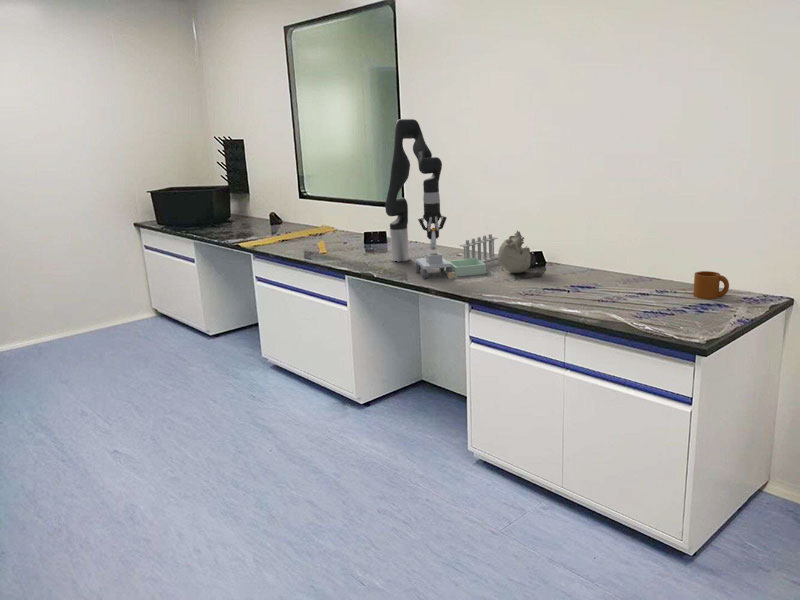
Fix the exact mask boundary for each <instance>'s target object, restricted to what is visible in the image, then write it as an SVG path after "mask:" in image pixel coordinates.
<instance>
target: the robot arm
mask: <svg viewBox="0 0 800 600" xmlns="http://www.w3.org/2000/svg"><path fill="white" fill-rule="evenodd" d="M406 139H407V140H410V139H413V140H414V142H413V145H412V152H413V154H414V156H415V158H416V159H417V162H418V163H417V164H418V170H419V172H420V173H421V174H423V175H427V174H429V175H430V174H432V175H431V176H430V177H429V178H425V179H424V180H423V183H422V186H423V197H422V198H423V199H422V201H423V215H422V217H419V218H418V219H417V221H418V222H419V224H420V227H421V228H422V230H423V231H426V237H427V238H428V239H429V240H430V239H431V231H430V228H432V224H434V228H436V240H438V239H439V238H440V230H442V229H443V228H444V227H445V223H446V221H447V216H445V215H442V213H441V199H440V198H441V197H440V188H439V187H440V185H439V181H440V178H441V177H440V176H441V172H442V167H443V163H442V161H441V159H440V158H439V157H436V156H434V157H433V154H432V151H431V150H430V148H429V147H428V145H427V143H426V142H425V138H424V134H423V132H422V129H421V126H420V124H419V121H417V119H414V118H412V119H411V118H410V119H409V118H400V119H397V120H396V123H395V128H394V144H393V153H392V154H393V155H392V162H391V168H390V178H389V179H390V180H389V186H388V192H387V195H386V198H385V199H386V201H385V206H384V207H385V214H386V215H387V216H388V217H397V218H395V219H394V221H392V222H390V224H389V233H390V248H391V249H390V250H391V251H390V252H391V261H392V262H395V261H397V263H398V262H399V263H400V262H401V261H402V262H407V261H410V252H409V250H410V249H409V235H408V231H409V229H408V224H409V206H408V202H407V199H406V198H405V197H402V196H401V197H398V195H399V193H400V191H401V189H402V188H403V186H404V185H405V184H406V183H407V181H408V179H409V175H410V170H411V161H410V160H409V158H408V155H407V154H406V152H405V148H404V146H403V145H404V140H406ZM424 221H425V222H426V225H425V224H424V223H425V222H424ZM439 221H440V223H439Z"/></svg>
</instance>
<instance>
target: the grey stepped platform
mask: <svg viewBox="0 0 800 600" xmlns="http://www.w3.org/2000/svg"><path fill="white" fill-rule="evenodd" d="M414 261H415V263H414V269H415V273H416V272H417V273H416V274H420V273H421V274H420V275H421V279H423V280H425V279H426V278H427V279H428V270H433V269H434V270H435V269H439V271H444V270H445V274H446V277H448V278H447V279H456V276H455V273H454V272H452V268H451V263H450V262H448V261H449V260H447V259H445V258H444V256H443V254H442V253H441V252H438V251H437V252H436V251H435V252H427V253H425V257H419V258H415V259H414ZM419 272H420V273H419Z"/></svg>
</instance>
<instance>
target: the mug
mask: <svg viewBox="0 0 800 600" xmlns="http://www.w3.org/2000/svg"><path fill="white" fill-rule="evenodd" d="M693 280H694V281H693V293H692V295H693V297H694V298H696V297H697V298H696V299H701V300H715V299H718V298H722V297H724V296H726V295H727V293H728V292H729V289H730V283H729V280H728V278H727V277H726V276H724V275H721V273H720V272H717V271H709V270H705V271H704V270H702V271H696V272H694V279H693ZM721 282H722V283H723V289H722V290H720V283H721Z"/></svg>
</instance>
